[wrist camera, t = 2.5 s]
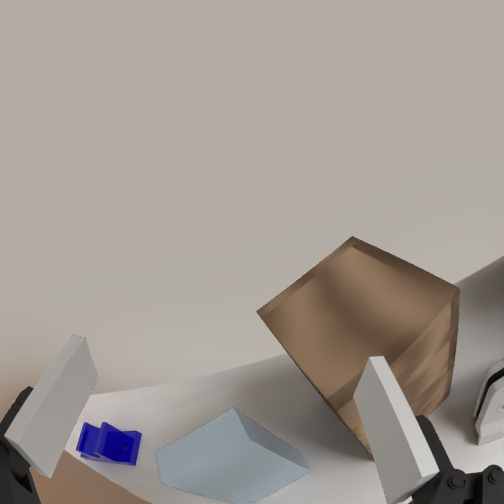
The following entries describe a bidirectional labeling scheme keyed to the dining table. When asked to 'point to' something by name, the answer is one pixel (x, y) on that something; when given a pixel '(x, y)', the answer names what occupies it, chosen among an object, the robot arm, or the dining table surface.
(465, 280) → the dining table surface
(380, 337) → the cabinet
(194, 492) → the upright grey-blue slab
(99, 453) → the mounting bracket
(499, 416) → the white rounded housing
